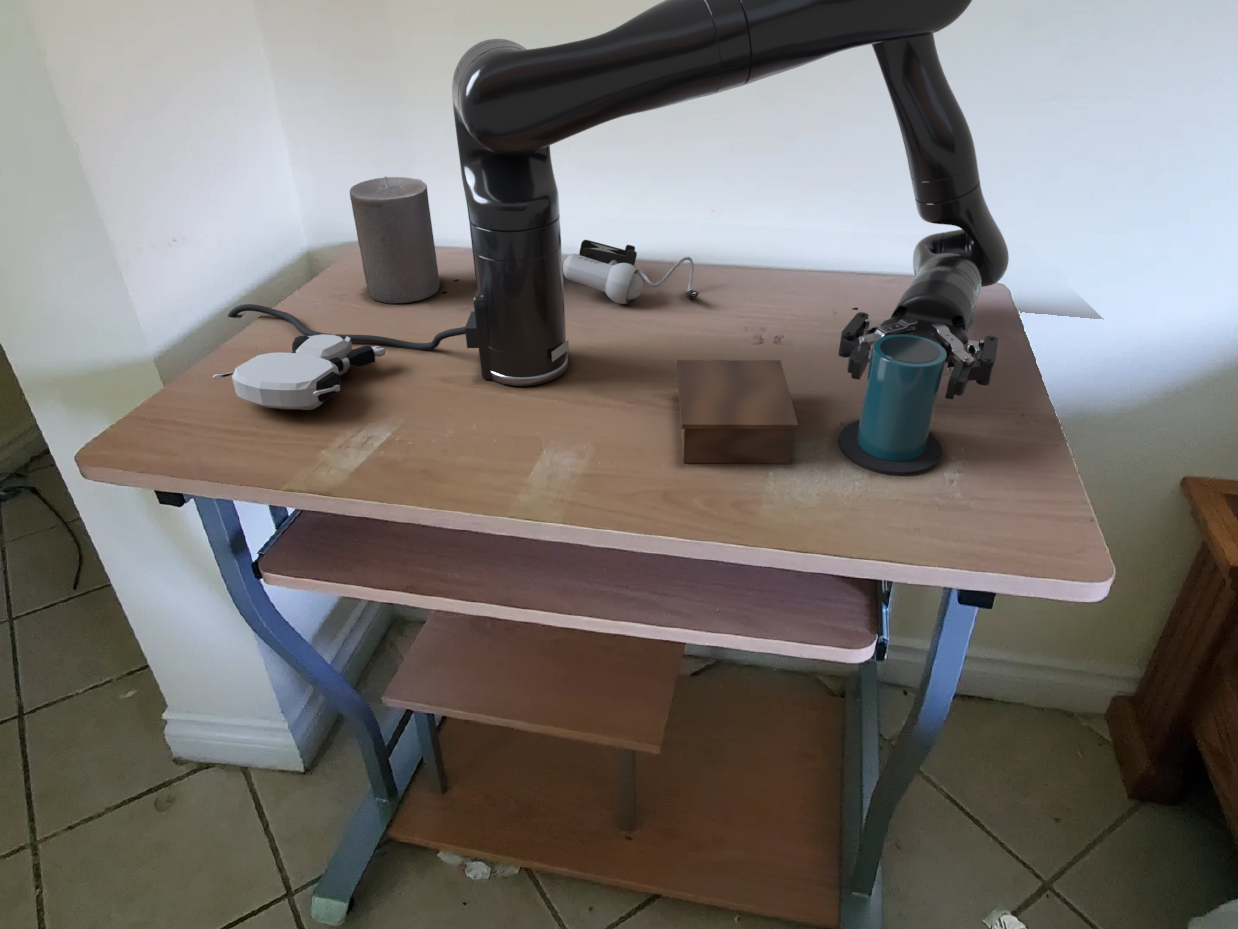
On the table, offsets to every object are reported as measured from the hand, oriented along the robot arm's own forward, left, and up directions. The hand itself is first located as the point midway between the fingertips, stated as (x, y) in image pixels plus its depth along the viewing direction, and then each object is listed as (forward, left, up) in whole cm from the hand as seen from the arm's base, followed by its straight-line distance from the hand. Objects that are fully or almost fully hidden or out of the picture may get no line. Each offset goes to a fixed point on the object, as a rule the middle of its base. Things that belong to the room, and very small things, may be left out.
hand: (902, 380), depth 79 cm
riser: (-15, +3, -7) cm, 17 cm away
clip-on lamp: (-25, +37, -8) cm, 45 cm away
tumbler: (0, 0, -7) cm, 7 cm away
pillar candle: (-56, +38, -8) cm, 68 cm away
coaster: (0, 0, -7) cm, 7 cm away
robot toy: (-60, +11, -8) cm, 61 cm away
